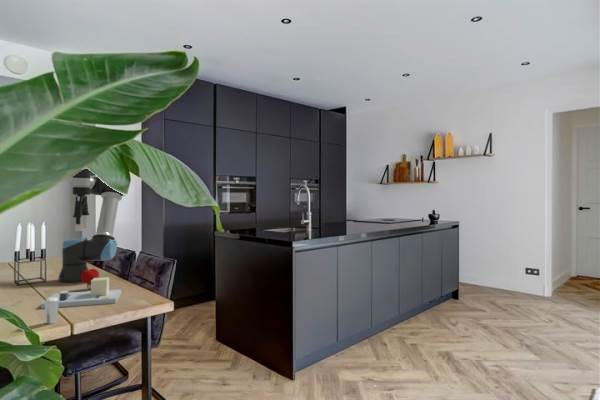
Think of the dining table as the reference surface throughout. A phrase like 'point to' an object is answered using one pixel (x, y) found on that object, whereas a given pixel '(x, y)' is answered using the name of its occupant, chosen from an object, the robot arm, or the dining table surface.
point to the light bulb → (89, 276)
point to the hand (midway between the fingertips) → (81, 229)
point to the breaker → (63, 295)
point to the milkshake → (51, 310)
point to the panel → (86, 298)
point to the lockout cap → (99, 286)
